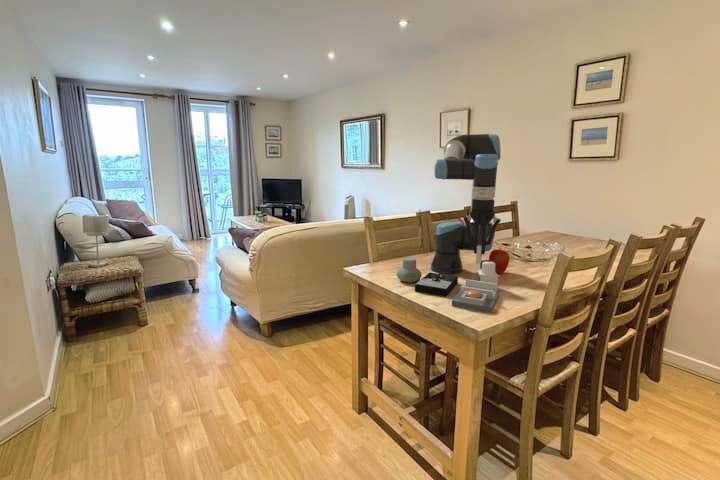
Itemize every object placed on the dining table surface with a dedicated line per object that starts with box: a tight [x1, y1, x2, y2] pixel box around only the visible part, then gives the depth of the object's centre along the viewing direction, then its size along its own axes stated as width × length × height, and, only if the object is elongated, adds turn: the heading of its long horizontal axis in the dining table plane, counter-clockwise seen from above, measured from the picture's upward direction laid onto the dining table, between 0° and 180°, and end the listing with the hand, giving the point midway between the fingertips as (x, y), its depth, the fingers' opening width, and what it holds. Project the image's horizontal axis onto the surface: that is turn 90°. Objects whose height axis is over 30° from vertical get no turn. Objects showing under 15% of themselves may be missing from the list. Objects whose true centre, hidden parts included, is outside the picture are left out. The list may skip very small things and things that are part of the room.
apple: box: [488, 248, 511, 274], centre depth 178 cm, size 9×9×12 cm
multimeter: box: [414, 272, 459, 298], centre depth 157 cm, size 13×19×5 cm
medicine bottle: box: [476, 259, 499, 284], centre depth 155 cm, size 7×7×12 cm
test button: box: [467, 290, 481, 299], centre depth 137 cm, size 5×5×2 cm
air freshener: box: [396, 257, 422, 284], centre depth 165 cm, size 11×8×10 cm
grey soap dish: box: [451, 278, 500, 314], centre depth 142 cm, size 14×19×5 cm
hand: (478, 262), depth 138 cm, fingers closed
